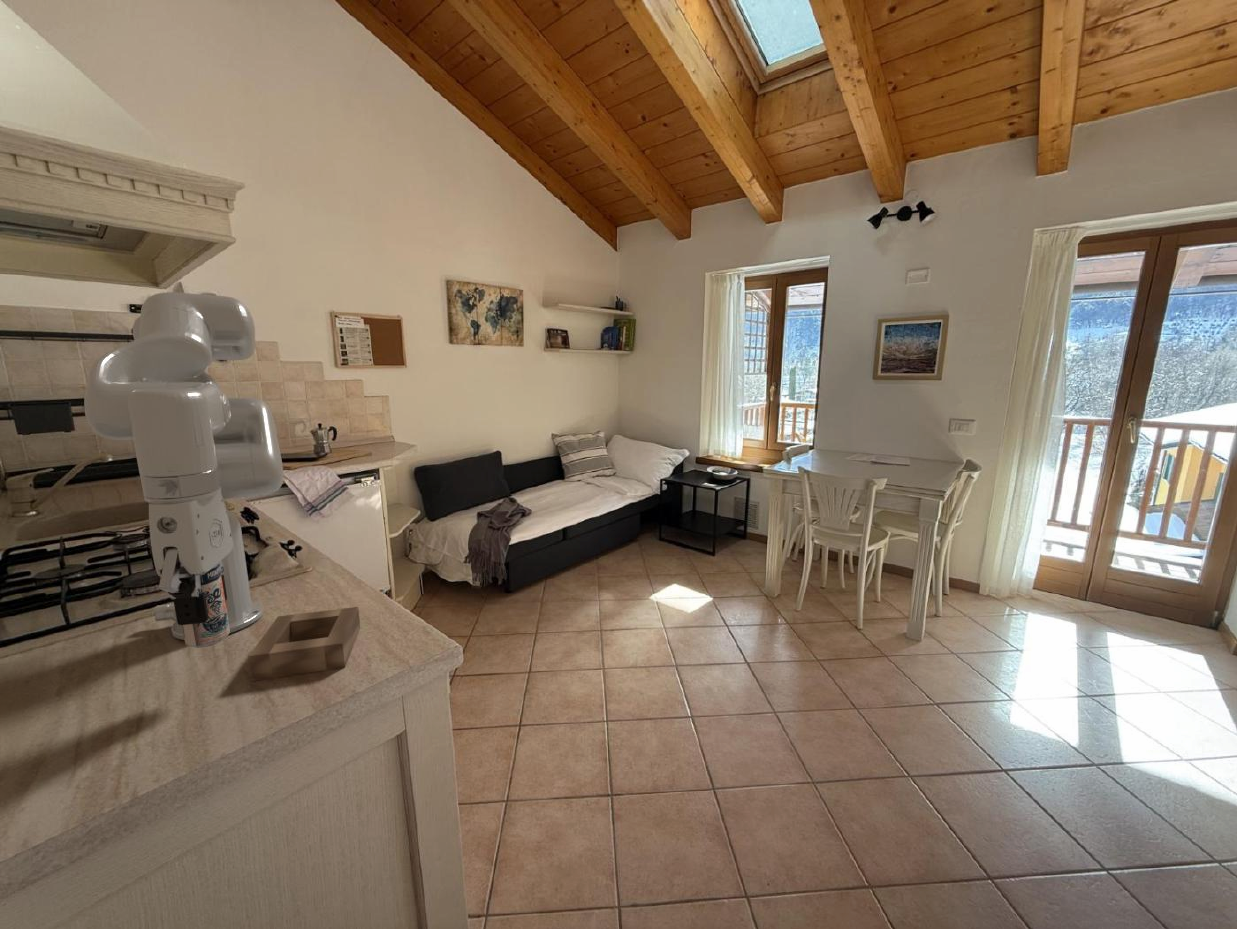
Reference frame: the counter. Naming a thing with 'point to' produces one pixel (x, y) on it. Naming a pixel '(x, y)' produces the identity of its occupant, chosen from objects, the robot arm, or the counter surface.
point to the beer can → (209, 612)
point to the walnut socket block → (305, 643)
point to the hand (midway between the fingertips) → (203, 611)
